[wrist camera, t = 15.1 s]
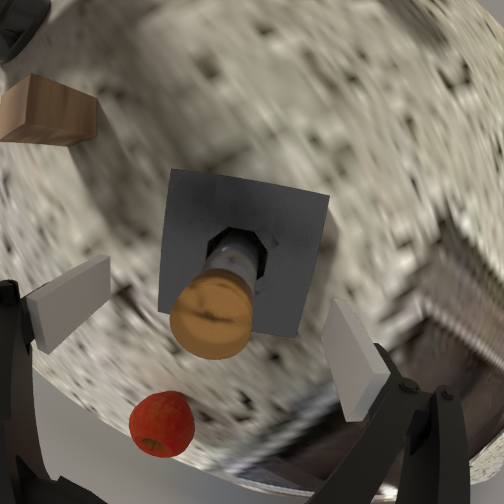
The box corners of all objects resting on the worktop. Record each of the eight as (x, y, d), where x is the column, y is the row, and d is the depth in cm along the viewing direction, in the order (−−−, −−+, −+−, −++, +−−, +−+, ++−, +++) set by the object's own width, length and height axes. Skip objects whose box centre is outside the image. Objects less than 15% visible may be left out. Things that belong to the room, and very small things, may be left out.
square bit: (67, 146, 26) (-3, 141, 14) (67, 110, 25) (1, 95, 13) (96, 135, 26) (24, 123, 14) (97, 98, 24) (30, 73, 13)
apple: (152, 363, 33) (120, 418, 22) (210, 387, 33) (194, 448, 22) (143, 399, 35) (118, 449, 24) (194, 420, 35) (179, 474, 25)
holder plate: (170, 296, 30) (157, 311, 26) (184, 170, 26) (171, 168, 22) (291, 319, 30) (294, 337, 26) (320, 194, 26) (329, 195, 22)
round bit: (217, 263, 29) (168, 349, 13) (223, 226, 28) (171, 280, 12) (255, 270, 29) (243, 366, 13) (262, 233, 28) (258, 297, 12)
